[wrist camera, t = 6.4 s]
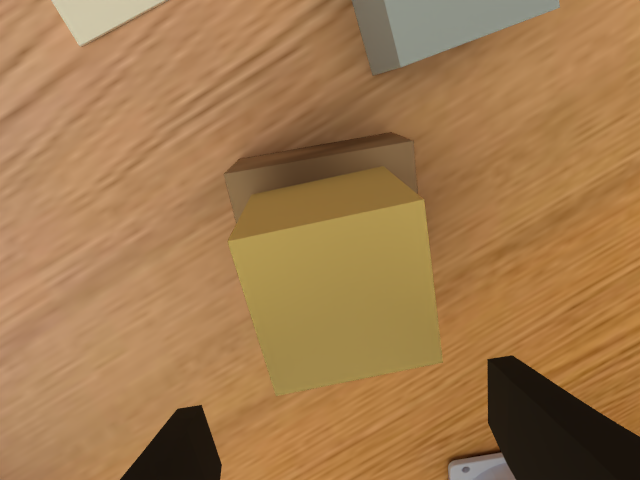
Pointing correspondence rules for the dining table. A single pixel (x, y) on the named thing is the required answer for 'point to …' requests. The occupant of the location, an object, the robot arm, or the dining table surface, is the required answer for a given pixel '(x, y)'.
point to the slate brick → (433, 25)
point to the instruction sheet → (100, 15)
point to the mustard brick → (338, 279)
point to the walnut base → (320, 165)
